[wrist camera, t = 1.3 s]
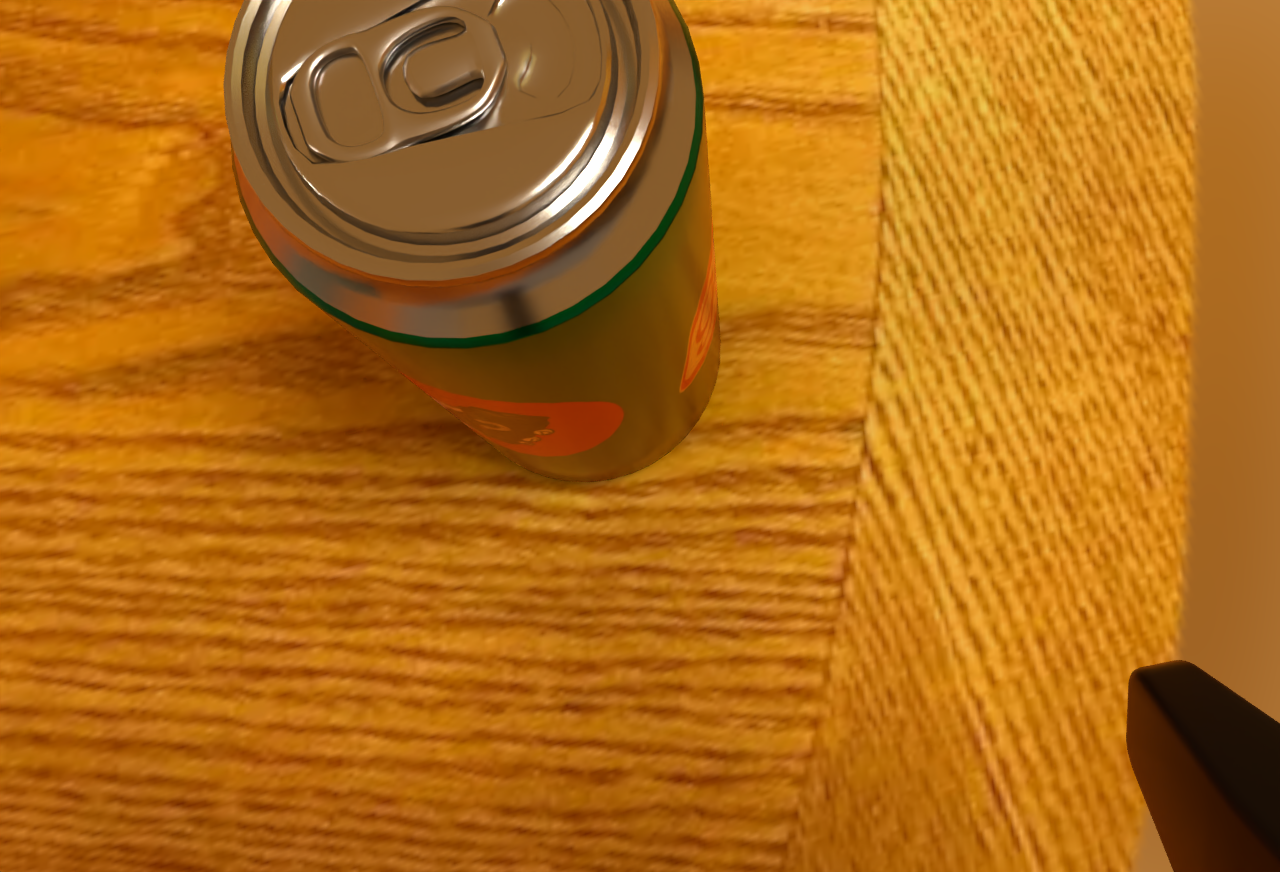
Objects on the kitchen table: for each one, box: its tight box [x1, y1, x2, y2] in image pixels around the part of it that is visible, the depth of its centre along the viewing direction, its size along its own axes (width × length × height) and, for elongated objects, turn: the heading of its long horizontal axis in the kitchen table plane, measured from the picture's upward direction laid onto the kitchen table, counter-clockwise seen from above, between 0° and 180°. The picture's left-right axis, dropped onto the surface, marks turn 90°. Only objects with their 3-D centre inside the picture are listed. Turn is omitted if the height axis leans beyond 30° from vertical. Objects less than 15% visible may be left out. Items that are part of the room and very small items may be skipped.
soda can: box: [224, 0, 720, 482], centre depth 18 cm, size 5×5×12 cm
